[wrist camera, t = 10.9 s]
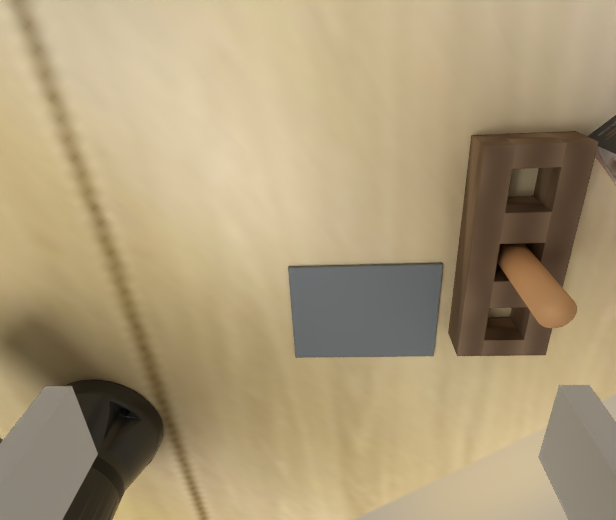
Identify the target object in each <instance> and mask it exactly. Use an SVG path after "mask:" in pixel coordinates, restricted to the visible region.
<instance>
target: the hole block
mask: <svg viewBox="0 0 616 520" xmlns="http://www.w3.org/2000/svg"><path fill="white" fill-rule="evenodd" d="M597 146H598V141H596V140H593V139H591V138H589V137H587V136H584V135H582V134H580V133H578V132H575V131H570V132H545V133H520V134H496V135H472V136H471V144H470V153H469V162H468V170H467V179H466V187H465V196H464V204H463V213H462V221H461V230H460V238H459V247H458V255H457V264H456V272H455V281H454V289H453V298H452V307H451V315H450V324H449V332H448V333H449V336H450V338H451V341H452V344H453V346H454V349H455V351H456V354H457V356H510V355H546V351H547V347H548V343H549V339H550V335H551V331H552V328H546V327H543V326H542V325H540V324H539V323H538V321H537V320H536V318H535V317H534V316H533V314H532V313H531V311H530V310H529V308H528V307H527V305H526V304H525V302H524V301H523V299H522V298H521V297H520V295H519V294H518V292H517V291H516V289H515V288H514V286H513V285H512V283H511V282H510V281H509V279H508V278H507V276H506V275H505V273H504V272H503V270H502V269H501V267H500V266H499V265H498V263H497V259H498V253H499V247H500V244H518V243H525V245H526V246H527V248H528V249H529V250H530V251H531V252H532V253H533V254H534V256H535V257H536V258H537V259H538V260H539V261H540V263H541V264H542V265H543V266H544V267H545V268H546V269H547V271H548V272H549V273H550V274H551V275H552V276H553V278H554V279H555V280H556V281H557V282H558V283H559V285H560V286H561V287H563V283H564V279H565V275H566V271H567V267H568V263H569V259H570V255H571V251H572V247H573V243H574V239H575V235H576V231H577V227H578V223H579V219H580V215H581V211H582V207H583V203H584V199H585V195H586V191H587V187H588V183H589V179H590V175H591V171H592V166H593V162H594V158H595V154H596V150H597ZM523 168H539V171H538V176H537V181H536V186H535V192H534V196H529V197H508V192H509V186H510V180H511V174H512V169H523ZM489 308H512V311H511V316H510V317H498V318H488V314H489Z"/></svg>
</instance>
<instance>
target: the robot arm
mask: <svg viewBox="0 0 616 520" xmlns="http://www.w3.org/2000/svg"><path fill="white" fill-rule="evenodd" d="M162 436H163V426H162V422H161V419H160V417H159V415H158V413H157V412H156V410H155V409H154V408H153V407H152V405H151V404H150V403H149V402H148V401H146V400H145V399H144V398H143V397H142V396H140V395H139V394H137V393H135V392H134V391H132V390H130V389H128V388H126V387H123V386H121V385H118V384H115V383H111V382H106V381H99V380H84V381H78V382H74V383H71V384H68V385H66V386H45V387H44V389H43V390H42V391H41V393H40V394H39V395H38V396H37V398H36V399H35V400H34V401H33V403H32V404H31V405H30V407H29V408H28V409H27V410H26V412H25V413H24V414H23V415H22V417H21V418H20V419H19V421H18V422H17V423H16V424H15V426H14V427H13V428H12V429H11V431H10V432H9V433H8V435H7V436H6V437H5V438H4V440H3V439H1V438H0V520H112V519H113V517H114V515H115V512H116V510H117V508H118V505H119V503H120V501H121V498H122V496H123V494H124V492H125V490H126V489H127V488H128V487H129V486H130V485H131V483H132V482H133V481H134V480H135V479H136V478H137V476H138V475H139V474H140V473H141V472H142V470H143V469H144V468H145V467H146V466H147V465H148V464H149V463H150V462H151V461H152V459H153V458H154V456H155V454H156V452H157V450H158V447H159V445H160V443H161V440H162ZM539 459H540V461H541V463H542V466H543V468H544V470H545V472H546V474H547V476H548V478H549V480H550V482H551V484H552V486H553V489H554V491H555V493H556V495H557V497H558V499H559V501H560V503H561V505H562V507H563V509H564V512H565V513H566V516H567V518H568V520H616V422H615V420H614V419H613V417H612V416H611V415H610V413H609V412H608V410H607V409H606V408H605V406H604V405H603V403H602V402H601V401H600V399H599V398H598V396H597V395H596V394H595V392H594V391H593V389H592V388H591V387H590V385H559V387H558V391H557V394H556V398H555V401H554V405H553V408H552V412H551V415H550V419H549V422H548V426H547V429H546V433H545V436H544V440H543V443H542V447H541V451H540V454H539Z"/></svg>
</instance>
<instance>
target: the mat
mask: <svg viewBox="0 0 616 520" xmlns="http://www.w3.org/2000/svg"><path fill="white" fill-rule="evenodd" d="M442 268H443V264H442V263H417V264H373V265H330V266H289V267H288V270H289V283H290V295H291V307H292V320H293V332H294V344H295V357H296V358H297V357H395V356H434V347H435V337H436V327H437V317H438V307H439V297H440V287H441V278H442Z"/></svg>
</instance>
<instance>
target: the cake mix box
mask: <svg viewBox="0 0 616 520" xmlns="http://www.w3.org/2000/svg"><path fill="white" fill-rule="evenodd" d="M588 137H589V138H591V139H593V140H596V141H598V146H597V150H596V154H595V156H596V158H597V159H598V161H599V162H600V163H601V165H602V166H603V168H604V169H605V171H606V172H607V173H608V175H609V176H610V178H611V179H612V181H613V182H614V183H615V185H616V116H614V117H613V118H612V119H610V120H609V121H608V122H606V123H605V124H604V125H602V126H601V127H600V128H598V129H597V130H596V131H594V132H593V133H592V134H590V135H589V136H588Z"/></svg>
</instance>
